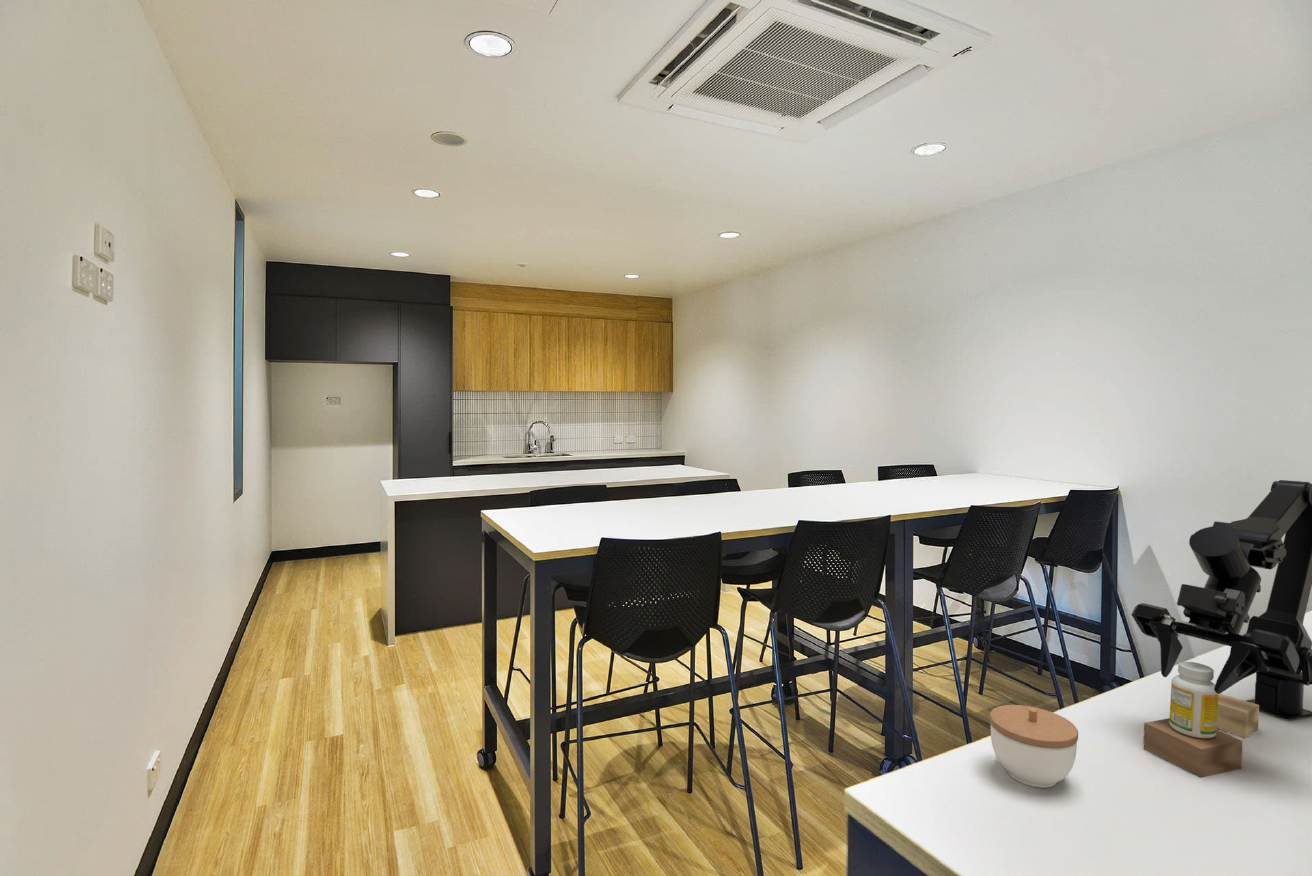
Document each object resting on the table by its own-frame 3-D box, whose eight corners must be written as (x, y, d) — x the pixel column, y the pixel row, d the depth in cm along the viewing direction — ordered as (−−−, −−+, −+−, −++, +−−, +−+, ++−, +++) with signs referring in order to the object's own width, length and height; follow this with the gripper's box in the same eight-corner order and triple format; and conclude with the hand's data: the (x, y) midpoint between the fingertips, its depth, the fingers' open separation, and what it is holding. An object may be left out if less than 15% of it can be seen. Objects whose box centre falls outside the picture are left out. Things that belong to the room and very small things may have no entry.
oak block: (1219, 717, 109) (1220, 693, 109) (1258, 729, 105) (1259, 705, 105) (1206, 724, 107) (1207, 700, 107) (1245, 737, 103) (1246, 712, 102)
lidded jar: (1026, 802, 86) (1028, 732, 86) (972, 759, 97) (973, 696, 96) (1096, 792, 88) (1098, 724, 88) (1035, 751, 99) (1037, 690, 98)
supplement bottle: (1172, 733, 96) (1175, 668, 95) (1166, 718, 100) (1169, 656, 100) (1220, 743, 93) (1223, 676, 93) (1212, 728, 98) (1215, 664, 97)
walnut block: (1182, 740, 102) (1183, 715, 102) (1241, 768, 94) (1242, 740, 94) (1143, 748, 100) (1144, 722, 99) (1200, 777, 92) (1201, 749, 92)
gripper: (1139, 552, 105) (1099, 632, 101) (1294, 579, 89) (1255, 676, 84) (1162, 593, 110) (1125, 672, 105) (1314, 626, 93) (1279, 721, 89)
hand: (1189, 683), depth 96 cm, fingers open, 6 cm apart
